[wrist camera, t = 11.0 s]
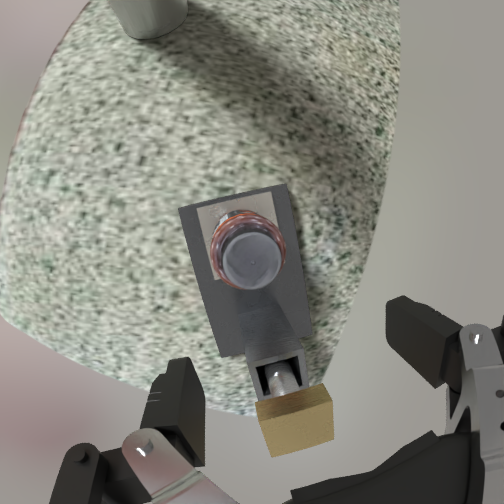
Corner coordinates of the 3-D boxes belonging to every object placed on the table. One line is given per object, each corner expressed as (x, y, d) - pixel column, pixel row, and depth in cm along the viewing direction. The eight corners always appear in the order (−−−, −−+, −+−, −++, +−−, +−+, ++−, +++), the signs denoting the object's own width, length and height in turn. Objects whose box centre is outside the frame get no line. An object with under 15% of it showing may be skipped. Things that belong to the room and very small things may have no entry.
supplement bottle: (277, 222, 29) (312, 239, 18) (255, 271, 30) (275, 316, 19) (226, 199, 28) (230, 202, 17) (204, 251, 29) (195, 286, 18)
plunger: (241, 335, 27) (258, 421, 15) (289, 323, 27) (332, 400, 15) (252, 372, 28) (271, 457, 16) (296, 360, 28) (333, 439, 16)
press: (180, 207, 30) (157, 215, 18) (282, 184, 31) (319, 179, 19) (221, 349, 34) (224, 412, 23) (307, 327, 35) (342, 380, 24)
